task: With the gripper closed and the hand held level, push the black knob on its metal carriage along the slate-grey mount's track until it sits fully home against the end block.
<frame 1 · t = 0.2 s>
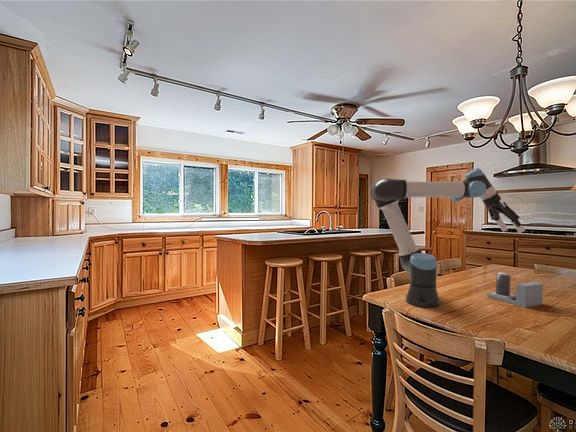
hand: (513, 231, 149), 35 cm above the table, fingers open, 13 cm apart
knob: (502, 284, 153), point 7 cm above the table, slide at 6.0 cm
mount: (511, 299, 149), on the table
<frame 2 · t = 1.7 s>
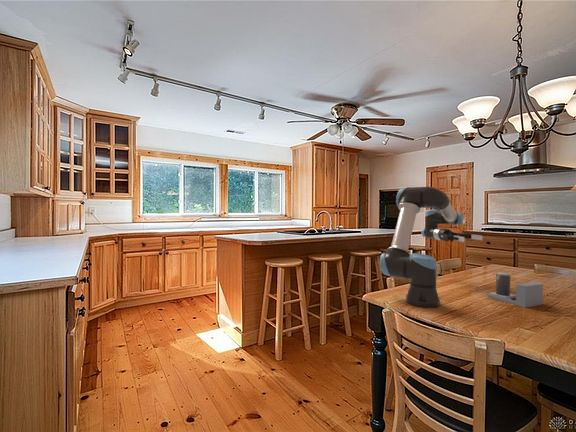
hand: (473, 238, 167), 29 cm above the table, fingers open, 13 cm apart
nothing on the table moved.
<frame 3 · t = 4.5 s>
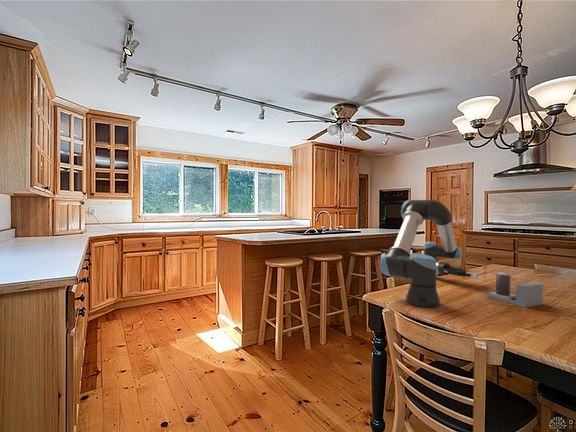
hand: (477, 276, 166), 8 cm above the table, fingers closed
nothing on the table moved.
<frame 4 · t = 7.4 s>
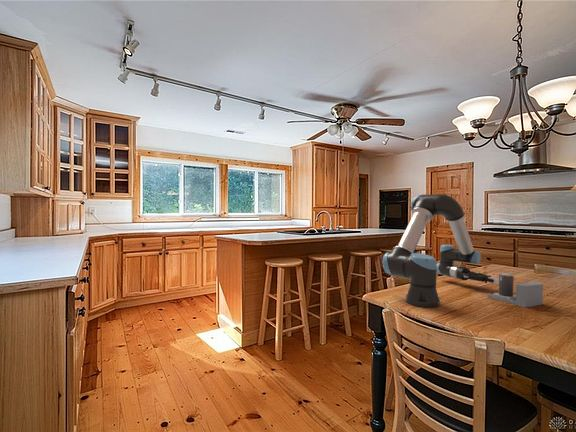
hand: (501, 282, 154), 7 cm above the table, fingers closed
knob: (506, 285, 151), point 6 cm above the table, slide at 4.4 cm, touching gripper
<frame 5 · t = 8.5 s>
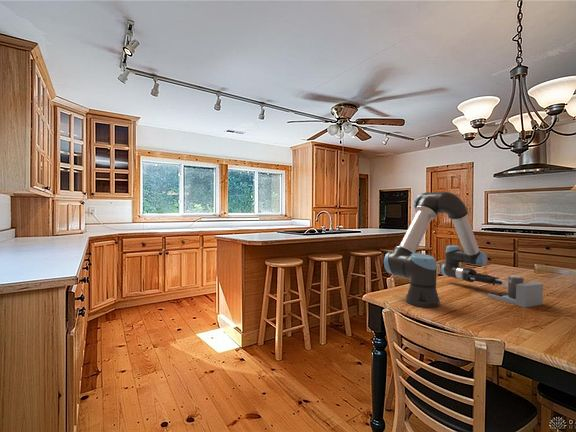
hand: (509, 284, 150), 7 cm above the table, fingers closed
knob: (515, 287, 147), point 6 cm above the table, slide at -0.2 cm, touching gripper
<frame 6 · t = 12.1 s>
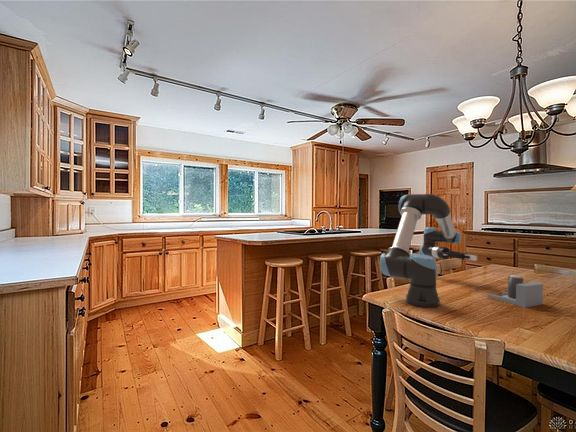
hand: (476, 258, 167), 18 cm above the table, fingers closed
knob: (515, 287, 147), point 7 cm above the table, slide at 0.0 cm
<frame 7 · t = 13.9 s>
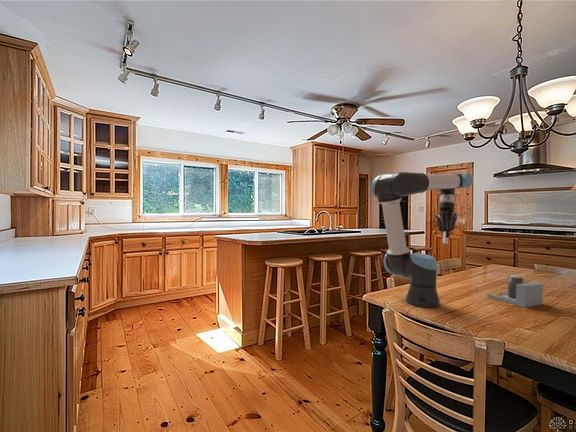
hand: (445, 243, 165), 26 cm above the table, fingers closed
nothing on the table moved.
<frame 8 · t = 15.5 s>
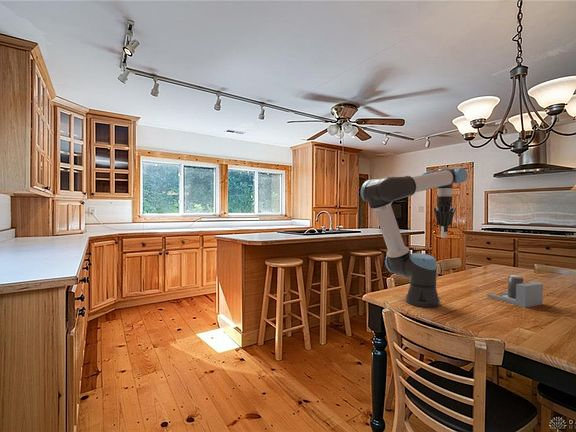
hand: (443, 237, 168), 29 cm above the table, fingers closed
nothing on the table moved.
at the end: knob slide at 0.0 cm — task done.
